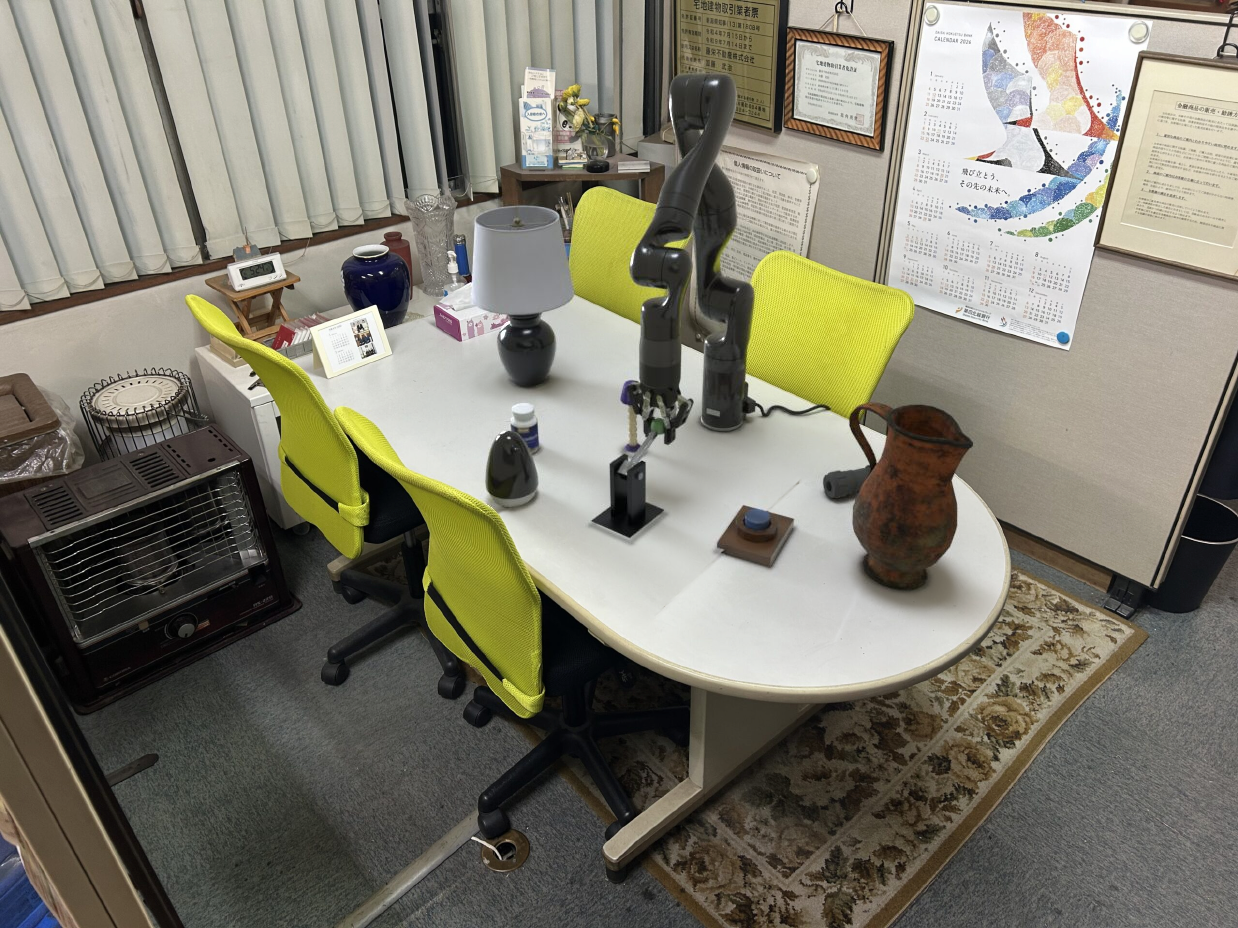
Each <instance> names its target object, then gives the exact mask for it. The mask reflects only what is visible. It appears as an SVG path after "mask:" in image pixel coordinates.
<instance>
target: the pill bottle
mask: <svg viewBox="0 0 1238 928" xmlns="http://www.w3.org/2000/svg"><path fill="white" fill-rule="evenodd" d="M511 415H512V417H510V431H514V432H516V433H518V434H519V435H520V436H521V437H522V438H523V440H524V441H525V443H526V444H527V446H528V448H529V450H530V452H531V455H532V454H534V453H536V452H537V451H538V450H539V448H540V437H539V421H538V417H537V415H536V414H535V407H534V405H533V404H531V403H528V402H520V403H517V404H514V405H513V406H512V407H511Z"/></svg>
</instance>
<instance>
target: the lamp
mask: <svg viewBox="0 0 1238 928" xmlns="http://www.w3.org/2000/svg"><path fill="white" fill-rule="evenodd" d="M472 251H473V255H472V273H471V275H472V276H471V295H470V296H471V297H470V300H471V303H472V304H473V305H474V306H475V307H476V308H478V309H480V310H483V311H485V312H488V313H492V314H496V315H497V314H498V315H505V316H506V317H507V319H508V321H507V322H505V323H504V324H503V325H502V327H501V328H500V330H499V331H498V334H497V337H496V347H497V351H498V355H499V359H500V361H501V364H502V367H503V368H504V370H505V371H506V373H507V374H508V376H509V377H510V379H511V382H512V383H513V384H514V385H515V386H518V387H522V388H533V387H538V386H541V385H543V384H544V383H546V382H547V380H548V375H549V373H550V372H551V369H552V367H553V363H554V361H555V357H556V352H557V337H556V334H555V331H554V329H553V328H552V326H551V325H550V324H549V323H548V322H546V321H545V320H543V319H542V315H543V313H546V312H547V313H548V312H550V311H553V310H556V309H559V308H562V307H564V306H565V305H567V304H568V303H570V302H571V301H572V300H573V298H574V296H575V289H574V283H573V278H572V273H571V269H570V264H569V258H568V255H567V254H568V253H567V249H566V245H565V240H564V234H563V229H562V224H561V219H560V214H559V213H558V212H557V211H555V210H553V209H551V208H548V207H543V206H534V205H512V206H503V207H496V208H492V209H488V210H486V211H482V212H481V213H479V214H478V215H477V216H475V218H474V234H473V250H472Z"/></svg>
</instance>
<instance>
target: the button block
mask: <svg viewBox="0 0 1238 928" xmlns="http://www.w3.org/2000/svg"><path fill="white" fill-rule="evenodd" d="M752 509H758V508H756V507H753V506H750V505H745V504H743V505H742V506H741V507H740V509H739V510H738V512H737V513H736V514H735V516H734V517H733V518H732V521H731V522H730V523H729V524H728V526H727V527H726V529H725V530H724V531H723V533H722V535H721V536H720V537H719V539H718V540H717V541H716V548H718V549H722V551H721V552H720V554H723V555H727V556H730V557H733V558H736V559H739V560H743V561H747V562H750V563H753V564H756V565H757V564H758V565H760V566H764V567H767V568H771V566H772V565H773V563H774V561H775V560H776V558H777V556H778V554H779V553H780V551H781V549H782V548H783V546H784V544H785V543H786V541H787V539H788V537H789V536H790V534H791V533H792V531H793V530H794V525H795V518H794V517H790V516H787V515H786V516H785V515H783V514H779V513H775V512H772V511H767V510H765V511H766V512H767V513H768V514H769V515H770V522H769V527H768V528H767V529H765V530H753V529H749V528H748V527H746V525H745V514H746V512H747V511H749V510H752Z"/></svg>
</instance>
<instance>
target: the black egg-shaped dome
mask: <svg viewBox="0 0 1238 928" xmlns="http://www.w3.org/2000/svg"><path fill="white" fill-rule="evenodd" d="M485 466H486V467H485V476H484V477H485V478H484V482H485V489H486V491H487V493H488V494H489V496H490V498H491V499H492V500H493V502H495V503H496V504H497V505H499V506H501V507H504V508H514V507H520V506H523V505H525V504H527V503H530V501H531V500H532V499H533V498H534V496H535V495H536V492H537V490H538V487H539V484H540V483H539V475H538V470H537V466H536V463H535V461H534V457H533V455H532V454H531V452H530V450H529V448H528V446H527V444H526V443H525V441H524V440H523V438H522V437H521V436H520V435H519V434H518V433H516V432H514V431H511V430H504V431H502V432H500V433H499V434H497V435H496V437H495V438H494V440H493V442H492V443H491V446H490V448H489V452H488V455H487V460H486V465H485Z"/></svg>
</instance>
